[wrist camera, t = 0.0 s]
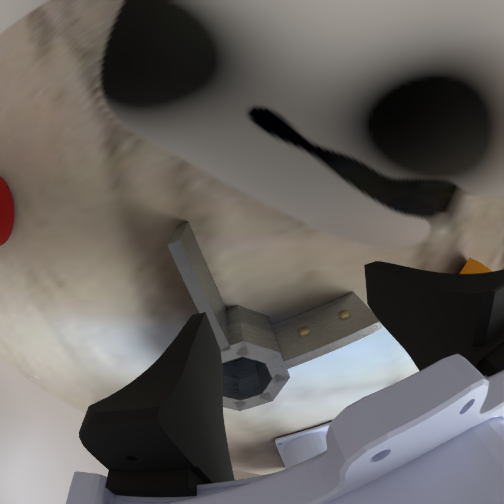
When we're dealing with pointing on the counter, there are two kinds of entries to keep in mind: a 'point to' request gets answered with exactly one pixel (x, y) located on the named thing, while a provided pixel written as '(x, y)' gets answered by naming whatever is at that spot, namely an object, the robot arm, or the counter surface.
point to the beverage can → (5, 212)
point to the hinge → (265, 331)
